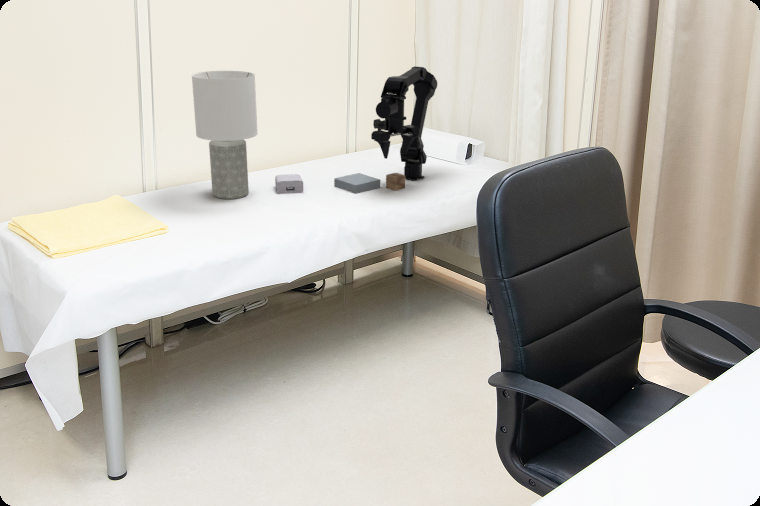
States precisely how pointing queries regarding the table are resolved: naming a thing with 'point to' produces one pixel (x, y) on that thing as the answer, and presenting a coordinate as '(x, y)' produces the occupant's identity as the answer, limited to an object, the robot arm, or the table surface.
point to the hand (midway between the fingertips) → (395, 156)
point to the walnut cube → (395, 181)
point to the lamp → (226, 126)
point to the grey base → (357, 183)
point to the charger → (289, 183)
